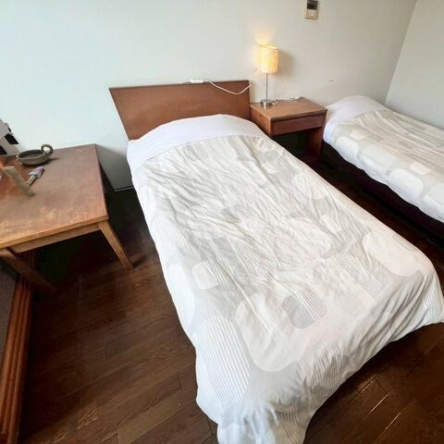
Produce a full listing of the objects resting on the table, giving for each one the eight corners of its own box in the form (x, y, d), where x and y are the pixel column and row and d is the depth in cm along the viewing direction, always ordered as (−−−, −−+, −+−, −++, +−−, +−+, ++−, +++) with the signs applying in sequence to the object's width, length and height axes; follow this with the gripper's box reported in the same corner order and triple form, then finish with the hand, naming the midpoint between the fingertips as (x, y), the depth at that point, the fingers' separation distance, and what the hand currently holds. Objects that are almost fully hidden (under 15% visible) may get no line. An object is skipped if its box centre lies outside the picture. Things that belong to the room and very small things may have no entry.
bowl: (22, 160, 149) (10, 144, 143) (58, 153, 158) (49, 139, 151) (21, 170, 142) (9, 155, 135) (59, 163, 150) (49, 148, 143)
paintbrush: (43, 164, 143) (28, 185, 130) (46, 168, 145) (31, 189, 132) (35, 164, 142) (19, 185, 129) (38, 168, 144) (22, 189, 131)
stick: (24, 197, 126) (1, 170, 115) (28, 193, 128) (5, 166, 117) (33, 196, 127) (11, 169, 116) (36, 192, 129) (15, 165, 118)
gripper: (-21, 102, 103) (8, 141, 115) (-49, 118, 91) (-13, 159, 103) (2, 102, 105) (28, 140, 117) (-23, 117, 93) (9, 158, 105)
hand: (9, 149), depth 110 cm, fingers open, 9 cm apart
